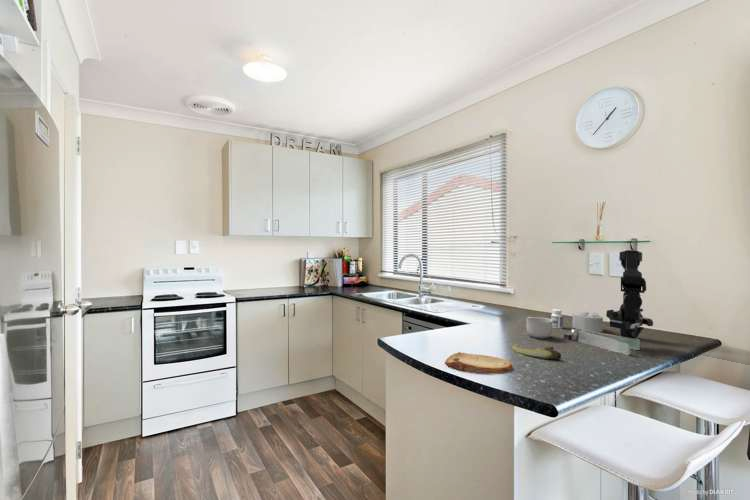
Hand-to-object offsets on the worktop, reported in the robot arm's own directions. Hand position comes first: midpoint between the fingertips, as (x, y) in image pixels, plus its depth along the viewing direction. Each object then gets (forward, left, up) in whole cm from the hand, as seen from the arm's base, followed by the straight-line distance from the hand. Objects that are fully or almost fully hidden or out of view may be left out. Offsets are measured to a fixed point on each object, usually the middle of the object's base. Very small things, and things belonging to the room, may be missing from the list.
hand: (631, 344), depth 143 cm
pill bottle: (-2, -37, -2) cm, 37 cm away
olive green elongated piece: (+44, -8, -2) cm, 45 cm away
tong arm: (+5, -6, -2) cm, 8 cm away
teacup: (+22, -27, -2) cm, 35 cm away
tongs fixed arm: (+12, -7, -2) cm, 14 cm away
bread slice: (+74, -3, -2) cm, 74 cm away
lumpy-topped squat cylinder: (-13, -28, -2) cm, 31 cm away
